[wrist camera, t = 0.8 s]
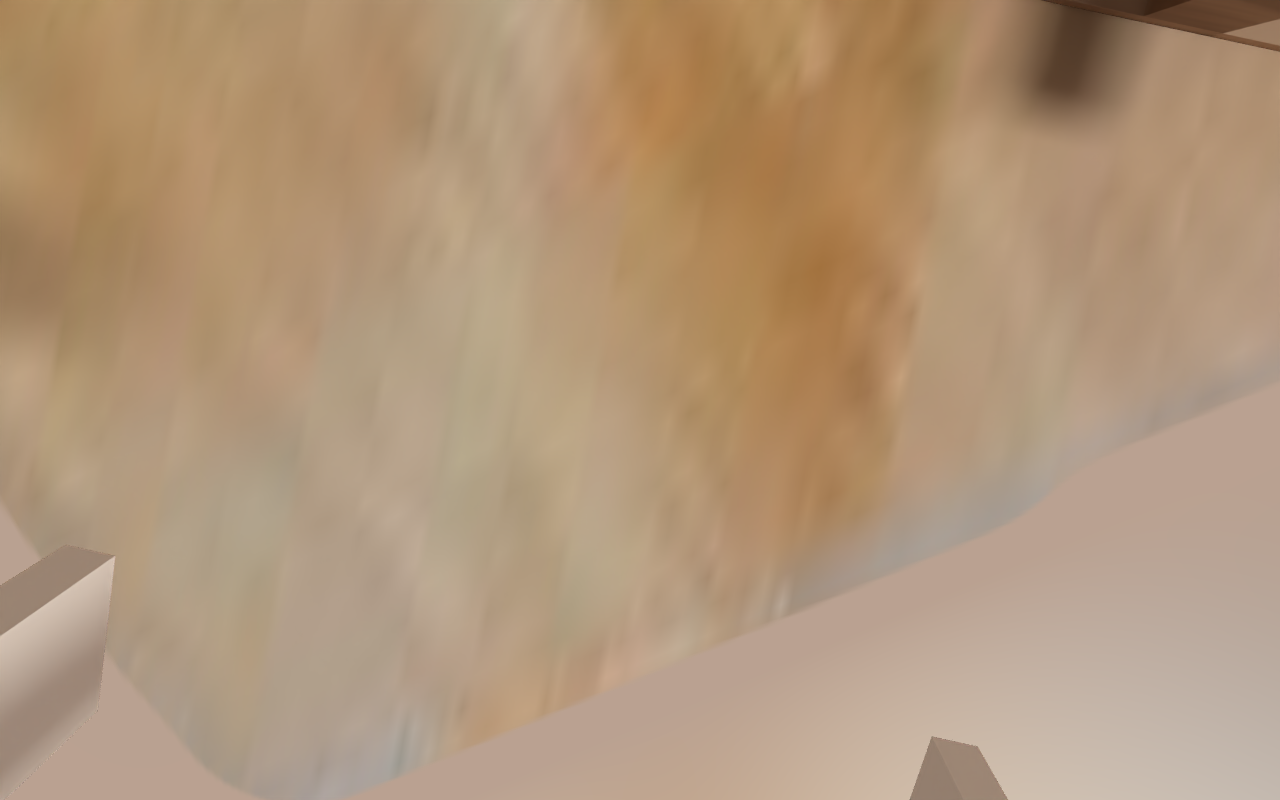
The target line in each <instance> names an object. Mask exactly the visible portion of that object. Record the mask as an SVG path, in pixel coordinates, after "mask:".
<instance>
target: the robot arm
mask: <svg viewBox="0 0 1280 800" xmlns="http://www.w3.org/2000/svg"><path fill="white" fill-rule="evenodd" d="M114 562H115V556H114V555H110V554H105V553H101V552H96V551H92V550H87V549H83V548H78V547H74V546H69V545H65V546H63V547H61V548H60V549H58V550H57V551H55V552H53V553H52V554H50V555H48V556H47V557H45V558H44V559H42V560H40V561H39V562H37V563H36V564H34V565H32V566H31V567H29V568H28V569H26V570H24V571H23V572H21V573H20V574H18V575H16V576H15V577H13V578H12V579H10V580H8V581H7V582H5V583H4V584H2V585H0V800H5V799H7V797H8V796H10V795H11V794H12V793H13V792H14V791H15V790H16V789H17V788H18V787H19V786H20V785H21V784H22V783H23V782H24V781H25V780H26V779H27V778H28V777H29V776H30V775H32V774H33V773H34V772H35V771H36V770H37V769H38V768H39V767H40V766H41V765H42V764H43V763H44V762H45V761H46V760H47V759H48V758H49V757H50V756H51V755H52V754H54V752H55V751H56V750H58V749H59V748H60V747H61V746H62V745H63V744H64V743H65V742H66V741H67V740H68V739H69V738H70V737H71V736H72V735H73V734H74V733H75V732H76V731H77V730H78V729H80V728H81V727H82V726H83V725H84V724H85V723H86V722H87V721H88V720H89V719H90V718H91V717H92V716H93V715H94V714H95V713H96V712H97V711H98V706H99V697H100V688H101V679H102V669H103V661H104V652H105V643H106V634H107V625H108V616H109V607H110V598H111V589H112V580H113V571H114ZM910 800H1008V799H1007V797H1006V796H1005V794H1004V792H1003V790H1002V788H1001V787H1000V785H999V783H998V781H997V780H996V778H995V776H994V774H993V773H992V771H991V769H990V767H989V766H988V764H987V762H986V760H985V759H984V757H983V755H982V753H981V752H980V750H979V748H978V747H977V746H973V745H968V744H964V743H959V742H955V741H950V740H946V739H941V738H937V737H931V740H930V743H929V746H928V749H927V752H926V755H925V758H924V760H923V763H922V766H921V769H920V772H919V775H918V778H917V780H916V783H915V786H914V789H913V792H912V795H911V798H910Z"/></svg>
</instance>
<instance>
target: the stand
mask: <svg viewBox="0 0 1280 800" xmlns="http://www.w3.org/2000/svg"><path fill="white" fill-rule="evenodd" d="M1044 1H1048V2H1053V3H1057V4H1062V5H1067V6H1071V7H1076V8H1081V9H1085V10H1090V11H1095V12H1099V13H1104V14H1109V15H1113V16H1118V17H1123V18H1127V19H1132V20H1137V21H1141V22H1146V23H1151V24H1155V25H1160V26H1165V27H1169V28H1174V29H1178V30H1183V31H1188V32H1192V33H1197V34H1202V35H1206V36H1211V37H1216V38H1220V39H1225V40H1230V41H1234V42H1239V43H1244V44H1248V45H1253V46H1258V47H1262V48H1267V49H1272V50H1276V51H1280V0H1044Z"/></svg>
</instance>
